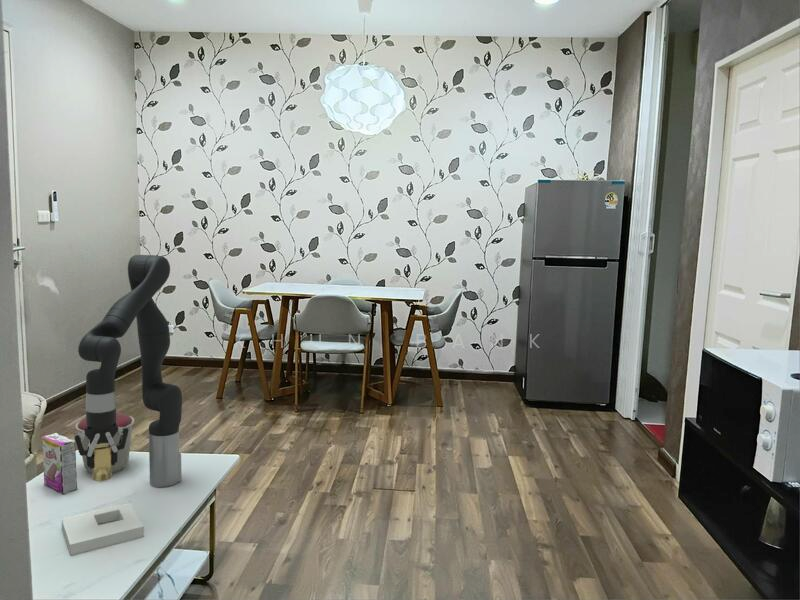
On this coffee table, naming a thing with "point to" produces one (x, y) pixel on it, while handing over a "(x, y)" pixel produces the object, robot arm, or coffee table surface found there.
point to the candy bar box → (59, 463)
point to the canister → (122, 453)
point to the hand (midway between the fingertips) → (102, 465)
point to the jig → (101, 528)
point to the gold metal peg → (102, 462)
